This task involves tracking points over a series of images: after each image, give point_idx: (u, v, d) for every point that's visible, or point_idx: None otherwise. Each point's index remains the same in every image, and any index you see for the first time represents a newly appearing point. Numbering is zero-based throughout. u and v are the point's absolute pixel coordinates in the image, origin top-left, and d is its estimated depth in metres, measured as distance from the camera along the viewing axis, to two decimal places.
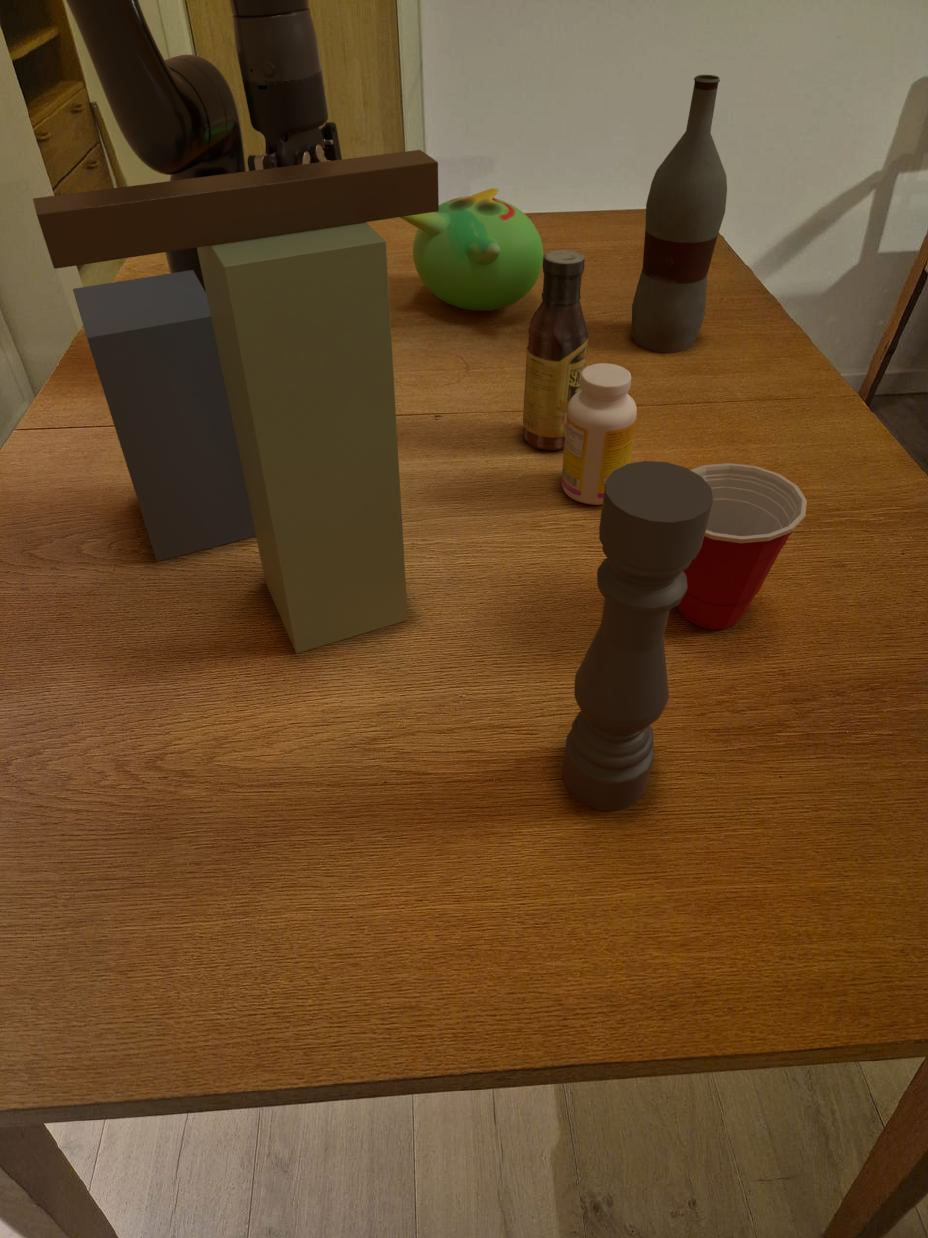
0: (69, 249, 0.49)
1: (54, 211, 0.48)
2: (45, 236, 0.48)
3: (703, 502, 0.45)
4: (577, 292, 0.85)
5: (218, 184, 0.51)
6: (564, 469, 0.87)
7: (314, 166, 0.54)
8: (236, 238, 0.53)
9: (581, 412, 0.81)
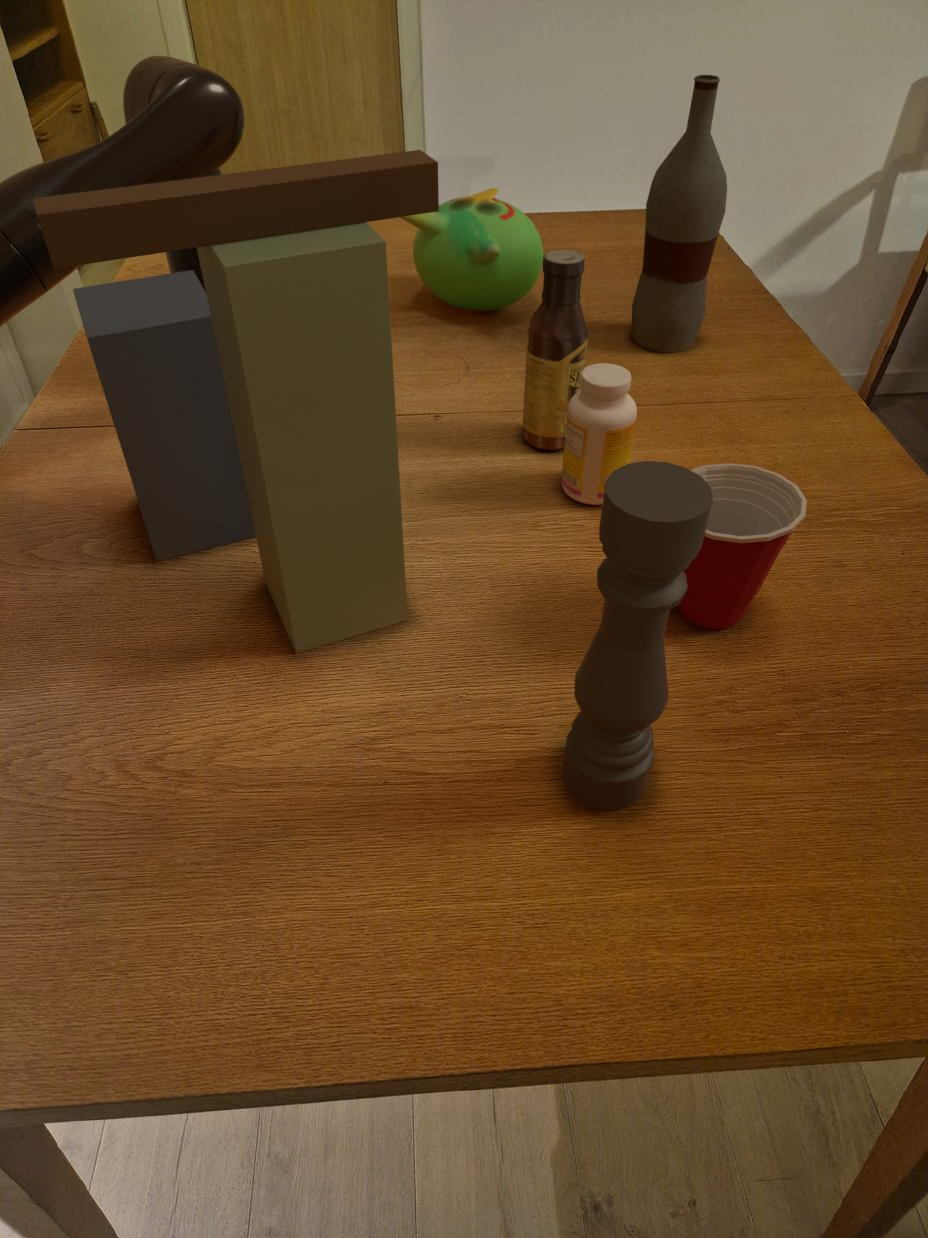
0: (69, 249, 0.49)
1: (54, 211, 0.48)
2: (45, 236, 0.48)
3: (703, 502, 0.45)
4: (577, 292, 0.85)
5: (218, 184, 0.51)
6: (564, 469, 0.87)
7: (314, 166, 0.54)
8: (236, 238, 0.53)
9: (581, 412, 0.81)
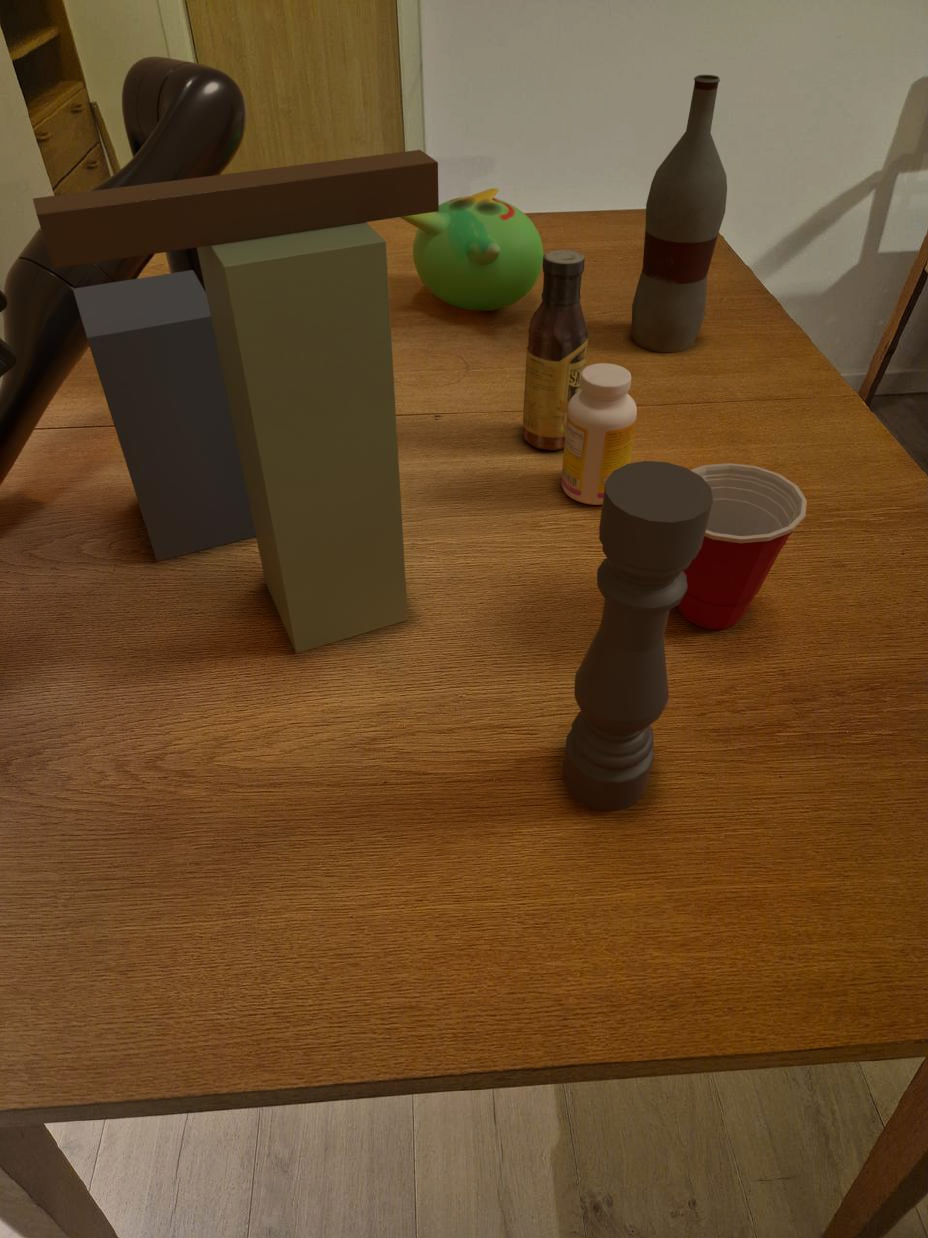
0: (69, 249, 0.49)
1: (54, 211, 0.48)
2: (45, 236, 0.48)
3: (703, 502, 0.45)
4: (577, 292, 0.85)
5: (218, 184, 0.51)
6: (564, 469, 0.87)
7: (314, 166, 0.54)
8: (236, 238, 0.53)
9: (581, 412, 0.81)
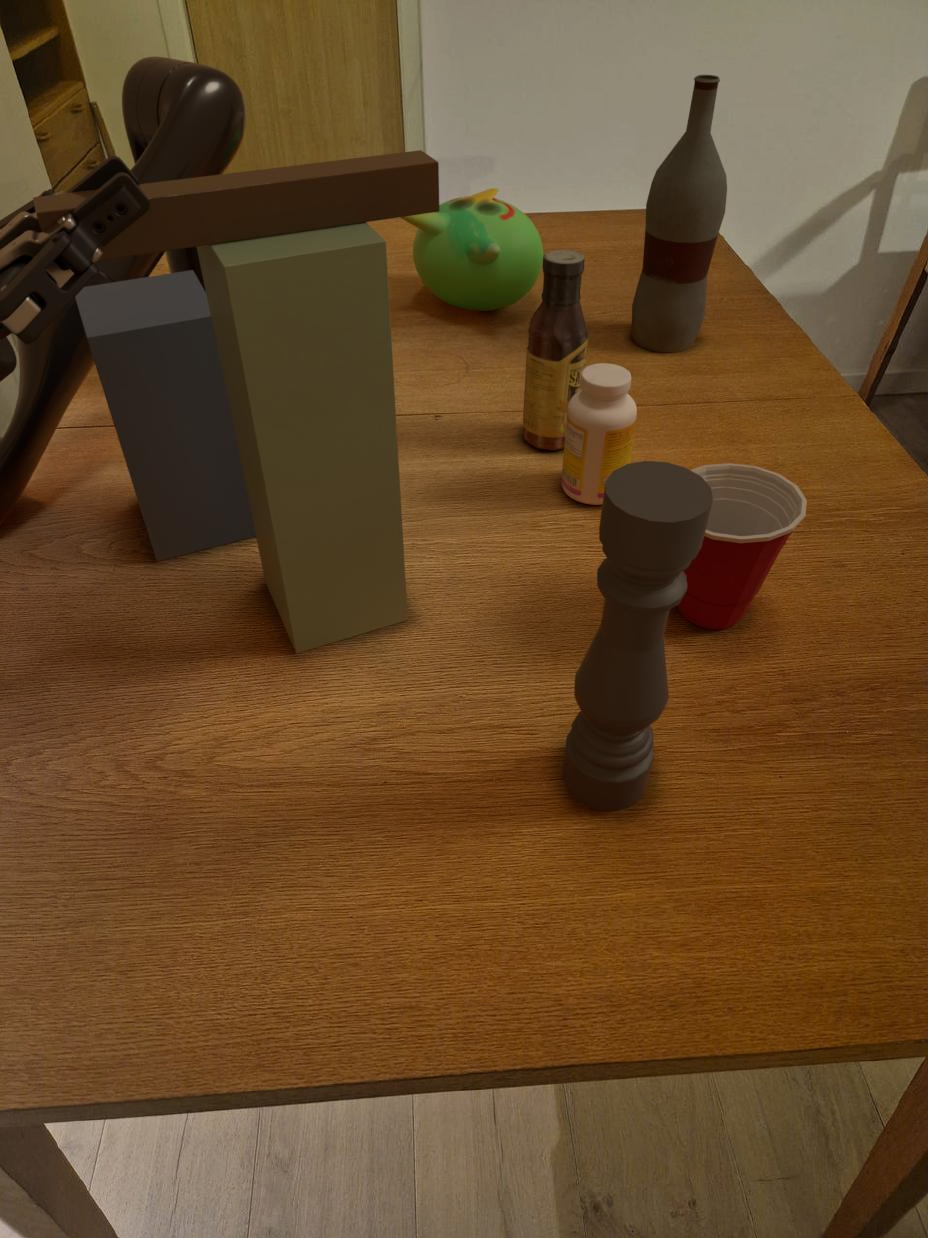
0: None
1: (53, 209, 0.48)
2: None
3: (703, 502, 0.45)
4: (577, 292, 0.85)
5: (217, 184, 0.51)
6: (564, 469, 0.87)
7: (314, 166, 0.54)
8: (236, 237, 0.53)
9: (581, 412, 0.81)
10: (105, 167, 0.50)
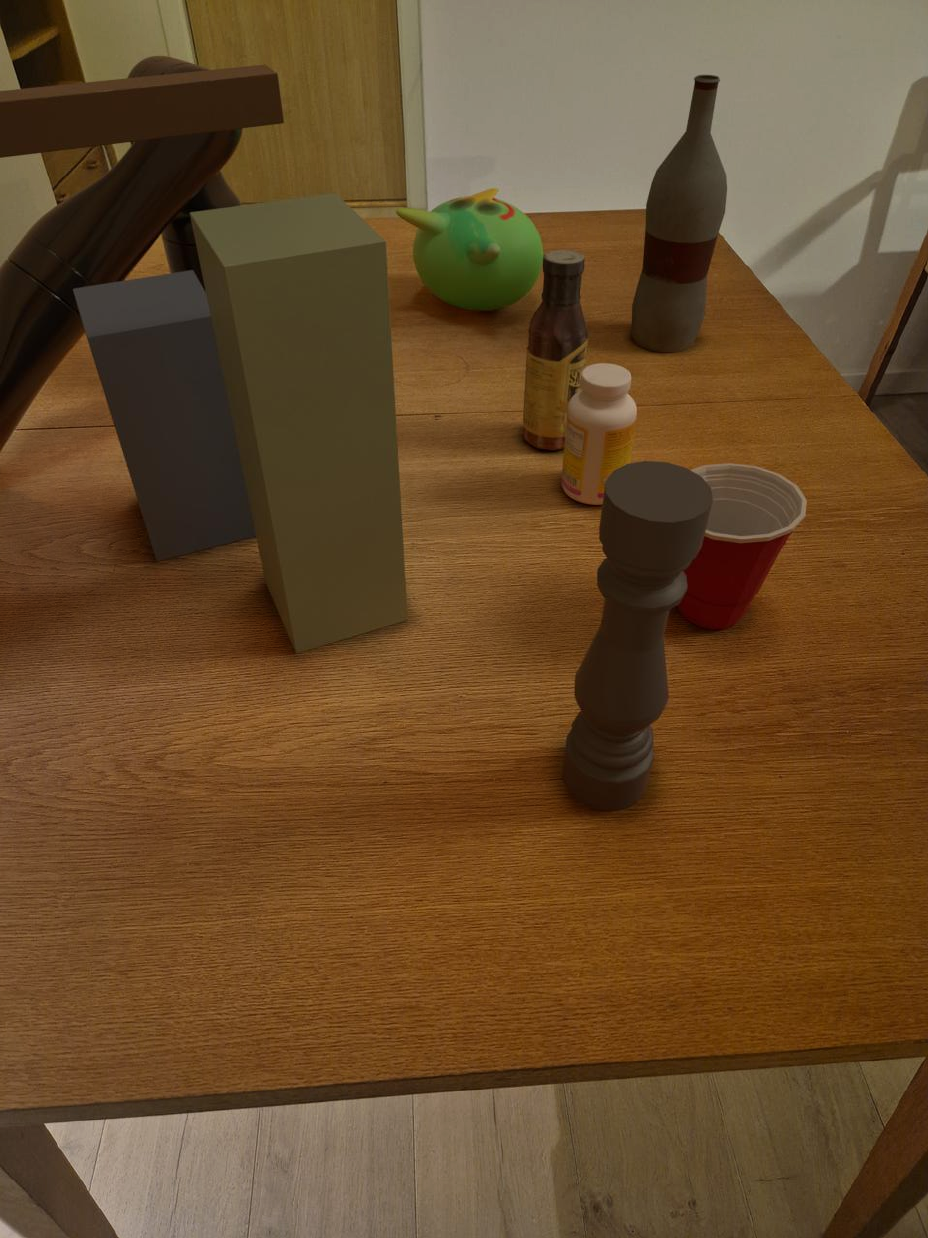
0: None
1: None
2: None
3: (703, 502, 0.45)
4: (577, 292, 0.85)
5: (59, 91, 0.54)
6: (564, 469, 0.87)
7: (158, 77, 0.57)
8: (81, 144, 0.55)
9: (581, 412, 0.81)
10: None
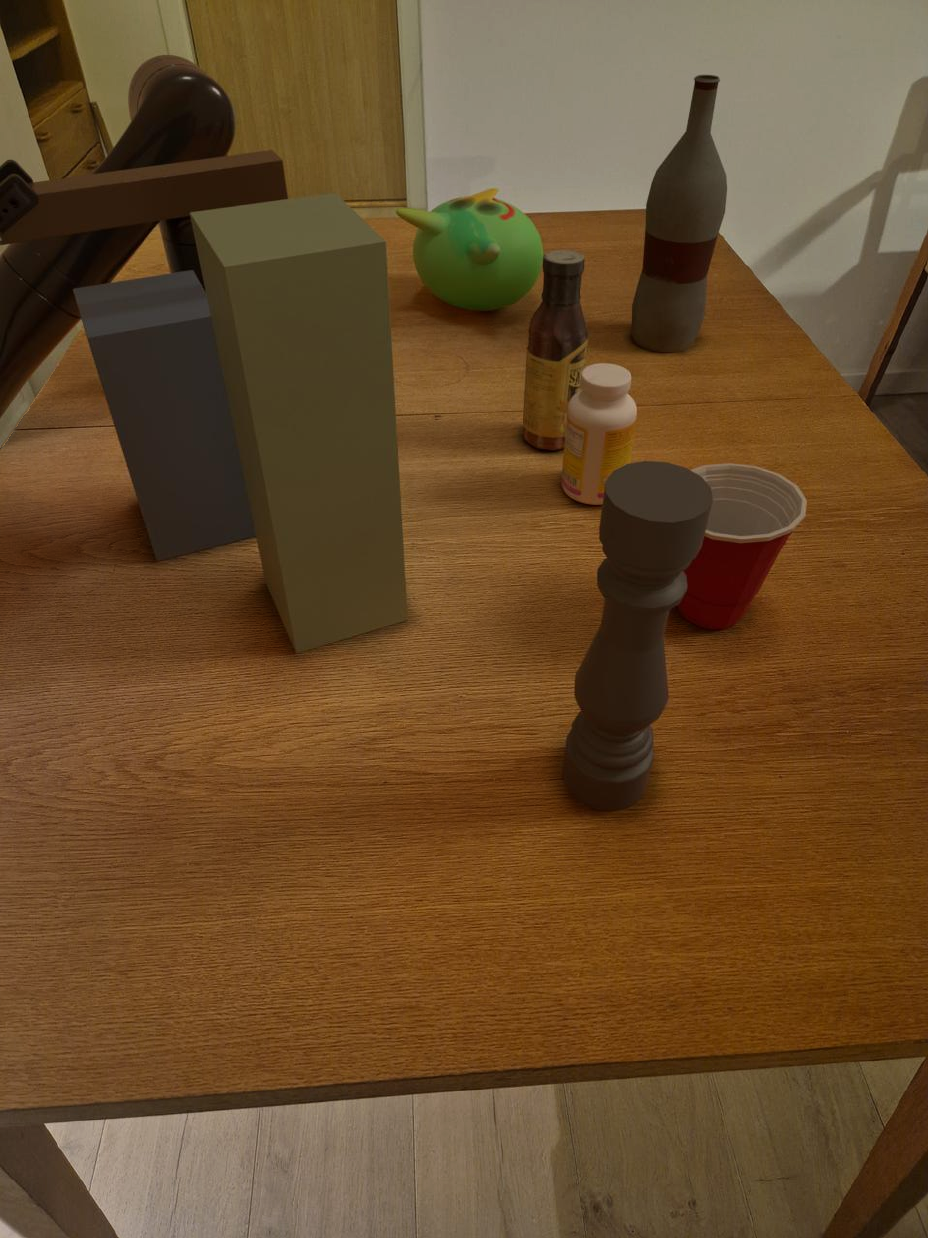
0: None
1: None
2: None
3: (703, 502, 0.45)
4: (577, 292, 0.85)
5: (96, 181, 0.63)
6: (564, 469, 0.87)
7: (179, 165, 0.66)
8: (114, 224, 0.65)
9: (581, 412, 0.81)
10: (3, 169, 0.62)
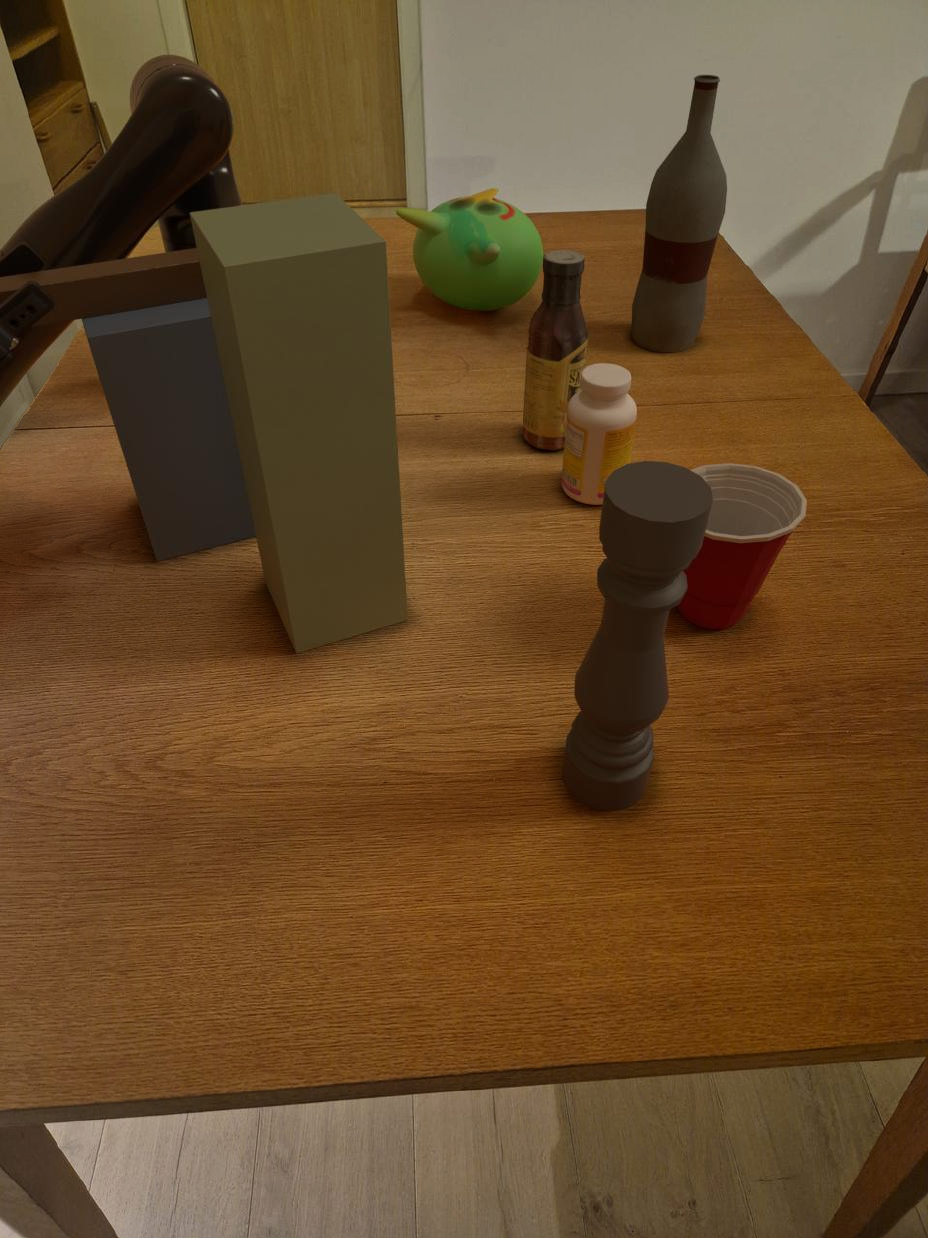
0: None
1: None
2: None
3: (703, 502, 0.45)
4: (577, 292, 0.85)
5: (117, 268, 0.68)
6: (564, 469, 0.87)
7: (195, 251, 0.70)
8: (133, 307, 0.69)
9: (581, 412, 0.81)
10: (15, 250, 0.68)
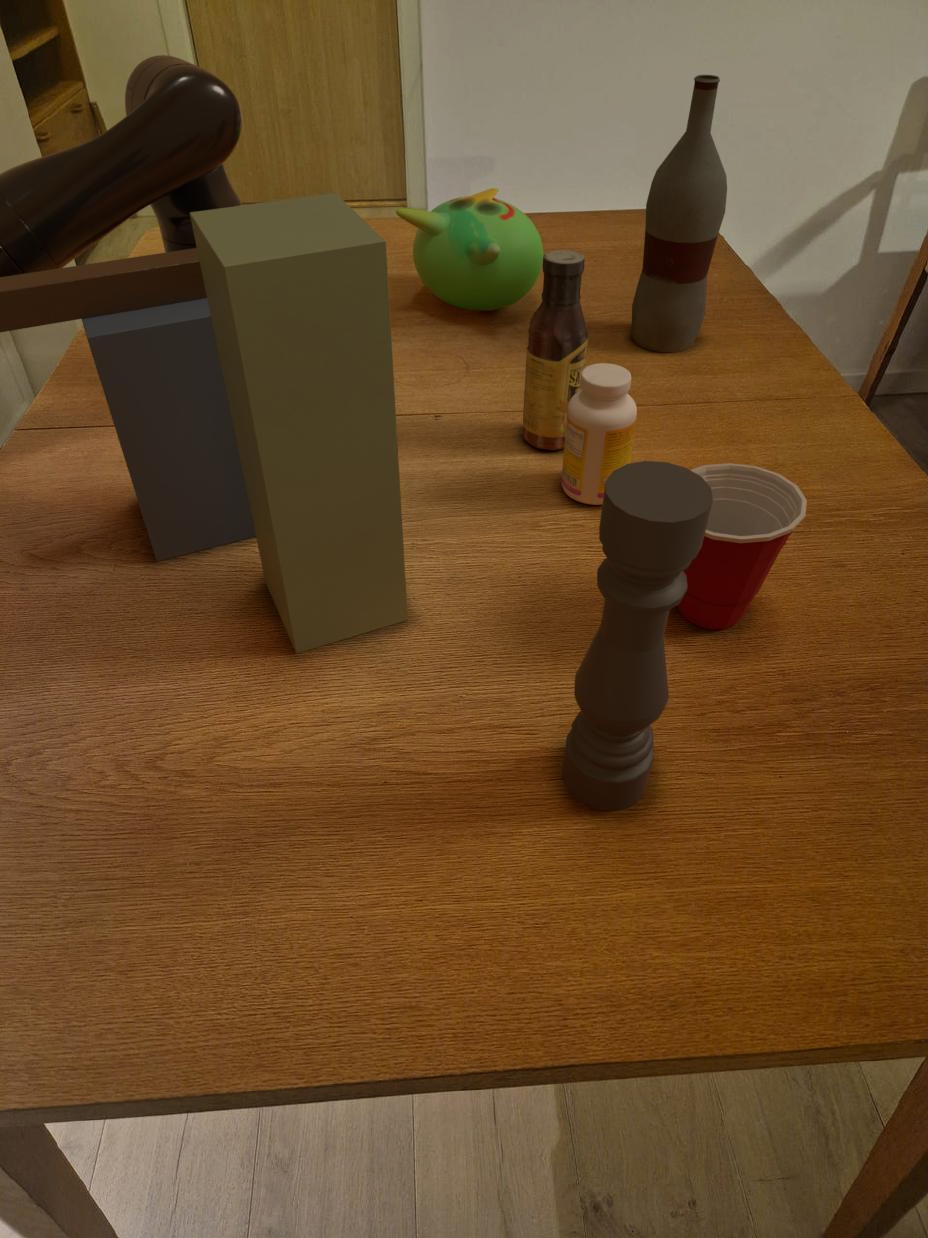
0: (3, 319, 0.66)
1: None
2: None
3: (703, 502, 0.45)
4: (577, 292, 0.85)
5: (117, 268, 0.68)
6: (564, 469, 0.87)
7: (195, 251, 0.70)
8: (133, 307, 0.69)
9: (581, 412, 0.81)
10: None
